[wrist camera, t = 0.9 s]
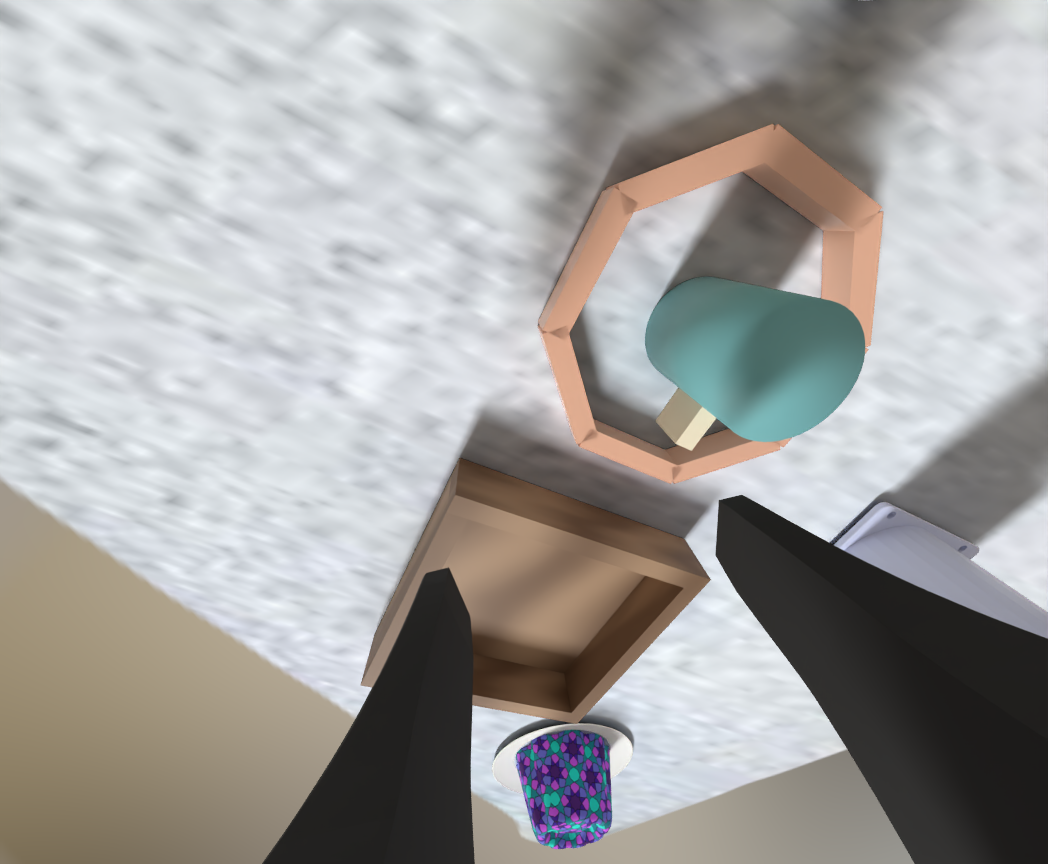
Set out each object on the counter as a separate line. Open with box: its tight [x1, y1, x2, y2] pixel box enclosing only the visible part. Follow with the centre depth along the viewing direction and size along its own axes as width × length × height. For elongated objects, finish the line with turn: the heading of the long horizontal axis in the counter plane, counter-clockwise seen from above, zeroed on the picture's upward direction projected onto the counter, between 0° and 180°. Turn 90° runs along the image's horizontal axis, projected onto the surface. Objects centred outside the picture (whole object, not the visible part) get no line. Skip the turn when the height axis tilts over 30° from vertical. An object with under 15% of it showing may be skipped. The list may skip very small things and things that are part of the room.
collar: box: [538, 124, 883, 484], centre depth 16 cm, size 13×13×2 cm
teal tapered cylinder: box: [645, 277, 865, 451], centre depth 15 cm, size 4×6×6 cm
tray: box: [361, 458, 711, 724], centre depth 22 cm, size 14×14×3 cm
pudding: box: [492, 723, 633, 849], centre depth 31 cm, size 12×12×5 cm
